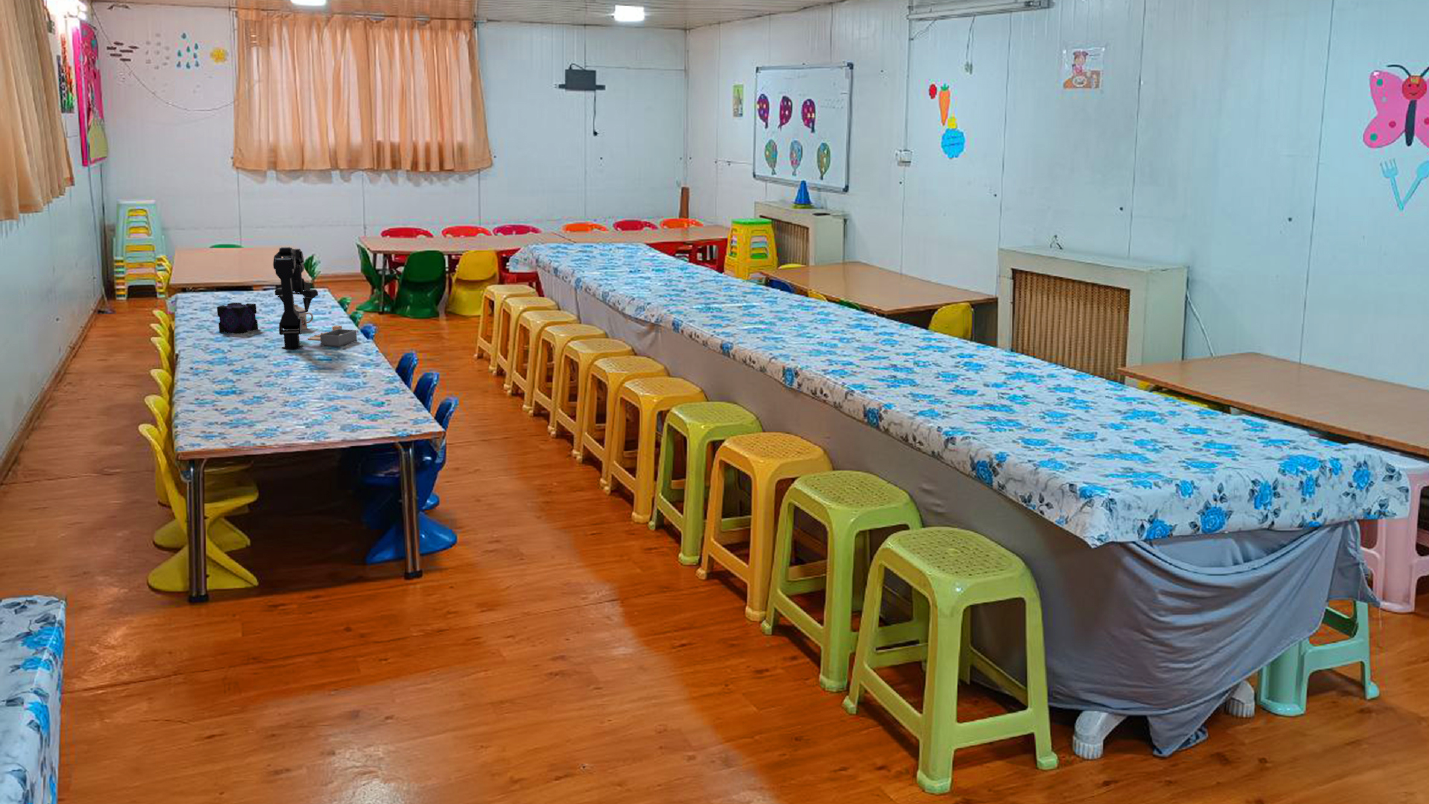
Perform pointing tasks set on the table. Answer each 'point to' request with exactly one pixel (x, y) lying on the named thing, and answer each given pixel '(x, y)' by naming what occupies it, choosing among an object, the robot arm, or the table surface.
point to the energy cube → (237, 318)
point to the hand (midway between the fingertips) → (297, 311)
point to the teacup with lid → (303, 316)
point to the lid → (317, 337)
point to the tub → (338, 338)
